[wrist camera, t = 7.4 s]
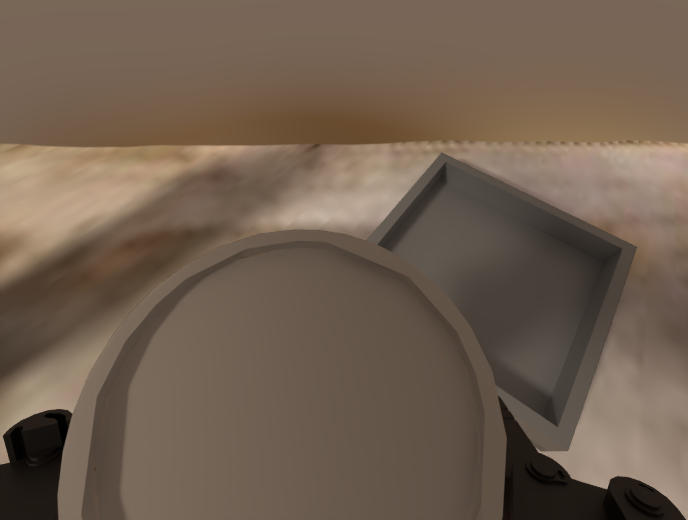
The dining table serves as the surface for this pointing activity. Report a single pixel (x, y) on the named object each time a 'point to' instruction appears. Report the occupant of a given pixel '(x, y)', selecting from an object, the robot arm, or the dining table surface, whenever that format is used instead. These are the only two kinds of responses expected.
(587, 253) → the grey tray
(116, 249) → the dining table surface
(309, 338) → the disposable coffee cup
